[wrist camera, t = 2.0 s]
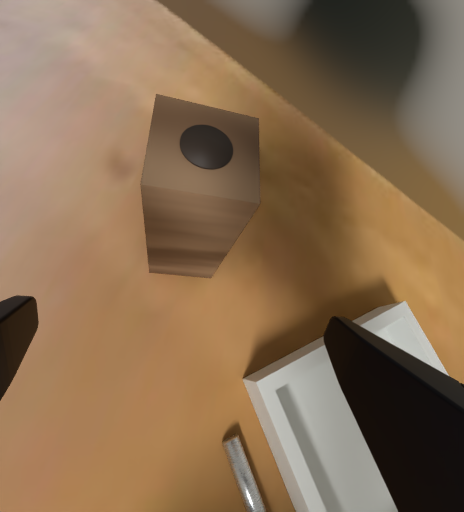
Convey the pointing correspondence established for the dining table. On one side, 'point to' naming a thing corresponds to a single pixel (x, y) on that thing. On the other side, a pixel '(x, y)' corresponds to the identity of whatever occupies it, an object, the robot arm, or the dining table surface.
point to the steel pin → (243, 474)
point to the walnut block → (197, 185)
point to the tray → (328, 420)
